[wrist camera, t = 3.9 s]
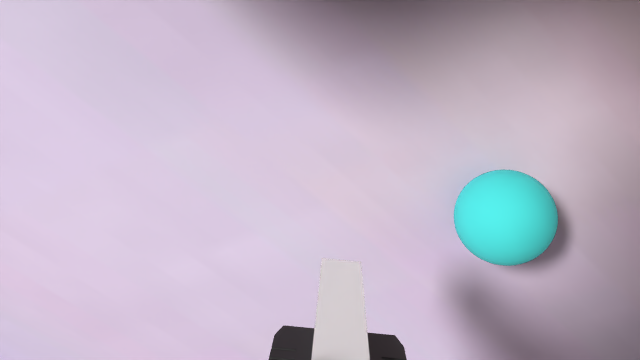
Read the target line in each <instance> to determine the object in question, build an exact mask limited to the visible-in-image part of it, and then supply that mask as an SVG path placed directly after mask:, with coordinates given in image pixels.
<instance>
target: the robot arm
mask: <svg viewBox="0 0 640 360" xmlns="http://www.w3.org/2000/svg"><path fill="white" fill-rule="evenodd" d="M269 360H406V355H405V350H404V346H403V345H402V344H401V343H400V341H399V340H398V339H397V337H396V336H395V335H386V334H376V333H367V323H366V311H365V300H364V289H363V278H362V266H361V262H357V261H346V260H336V259H325V258H322V260H321V270H320V280H319V290H318V299H317V309H316V319H315V329H314V328H304V327H294V326H283V327H282V328H281V329H280V330H279V331H278V332H277V333H276V334H275V336H274V340H273V344H272V349H271V352H270V356H269Z"/></svg>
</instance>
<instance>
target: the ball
mask: <svg viewBox="0 0 640 360" xmlns="http://www.w3.org/2000/svg"><path fill="white" fill-rule="evenodd" d="M454 223H455V228H456V231H457V234H458V236H459V238H460V240H461V241H462V243H463V244H464V245H465V246H466V248H467V249H468V250H469V251H470V252H472V253H473V254H474V255H476V256H477V257H479V258H480V259H482V260H484V261H487V262H489V263H493V264H497V265H506V266H511V265H518V264H522V263H526V262H528V261H531V260H533V259H534V258H536V257H538V256H539V255H540V254H542V253H543V252H544V251H545V250H546V249H547V248H548V246H549V245H550V243H551V242H552V240H553V238H554V236H555V234H556V230H557V225H558V214H557V209H556V205H555V202H554V200H553V198H552V196H551V195H550V193H549V192H548V190H547V189H546V188H545V187H544V186H543V185H542V184H541V183H540V182H539V181H537V180H536V179H534V178H533V177H531V176H529V175H527V174H524V173H522V172H518V171H513V170H495V171H490V172H487V173H484V174H482V175H480V176H478V177H476V178H475V179H473V180H472V181H470V182H469V183H468V184H467V185H466V186H465V187H464V189H463V190H462V191H461V193H460V195H459V196H458V199H457V201H456V205H455V209H454Z"/></svg>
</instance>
